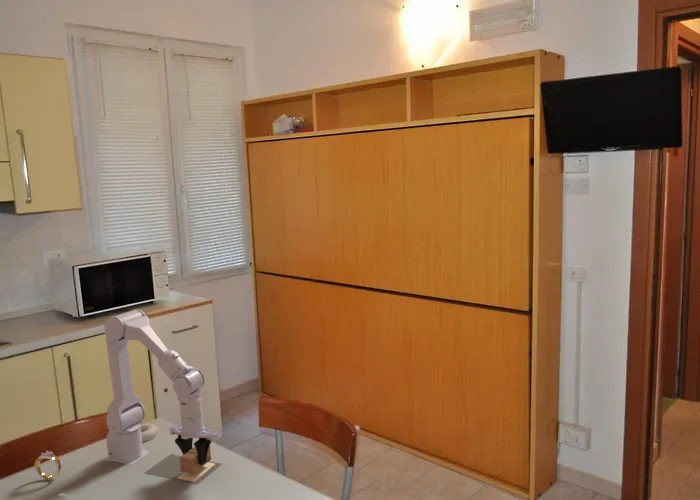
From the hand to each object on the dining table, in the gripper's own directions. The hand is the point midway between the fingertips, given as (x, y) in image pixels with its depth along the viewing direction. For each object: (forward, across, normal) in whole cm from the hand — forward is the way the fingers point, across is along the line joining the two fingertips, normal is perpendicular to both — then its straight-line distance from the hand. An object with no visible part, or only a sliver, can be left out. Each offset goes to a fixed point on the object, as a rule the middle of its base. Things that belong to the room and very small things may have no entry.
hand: (195, 461), depth 156 cm
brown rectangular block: (+1, 0, 0) cm, 1 cm away
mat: (+3, -4, 0) cm, 6 cm away
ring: (+3, -37, -16) cm, 41 cm away
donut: (+4, -31, +12) cm, 33 cm away
